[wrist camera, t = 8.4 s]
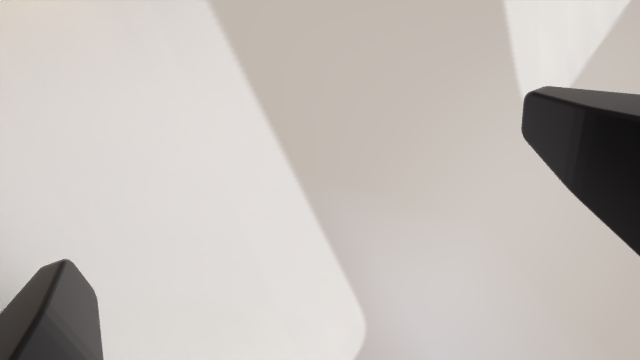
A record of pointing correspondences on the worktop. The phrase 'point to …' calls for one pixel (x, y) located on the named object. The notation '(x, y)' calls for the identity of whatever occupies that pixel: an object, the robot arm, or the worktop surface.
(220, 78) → the worktop surface
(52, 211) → the worktop surface
